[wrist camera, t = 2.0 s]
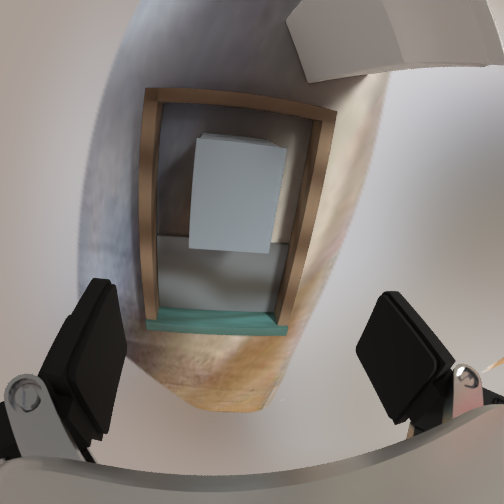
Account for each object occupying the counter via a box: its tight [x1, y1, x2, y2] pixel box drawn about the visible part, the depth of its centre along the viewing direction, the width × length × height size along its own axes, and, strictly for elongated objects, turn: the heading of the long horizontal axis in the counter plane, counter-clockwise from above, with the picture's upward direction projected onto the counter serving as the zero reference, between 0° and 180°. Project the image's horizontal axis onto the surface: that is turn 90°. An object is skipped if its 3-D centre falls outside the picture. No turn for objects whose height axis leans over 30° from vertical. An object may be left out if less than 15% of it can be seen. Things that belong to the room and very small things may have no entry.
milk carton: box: [286, 0, 504, 83], centre depth 12 cm, size 7×7×19 cm
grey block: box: [189, 133, 287, 254], centre depth 23 cm, size 8×6×7 cm
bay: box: [139, 88, 337, 336], centre depth 26 cm, size 25×16×3 cm, turn 172°
